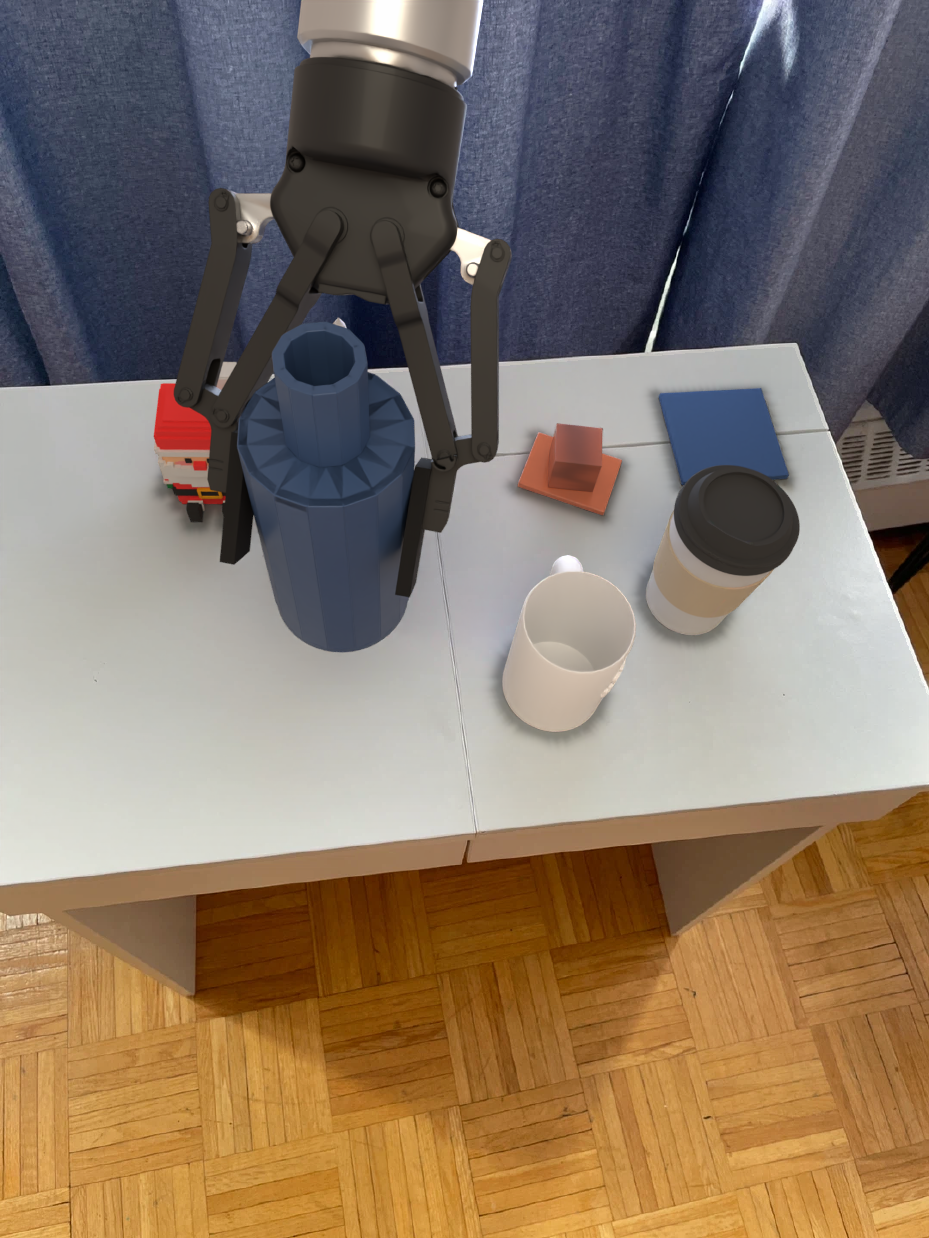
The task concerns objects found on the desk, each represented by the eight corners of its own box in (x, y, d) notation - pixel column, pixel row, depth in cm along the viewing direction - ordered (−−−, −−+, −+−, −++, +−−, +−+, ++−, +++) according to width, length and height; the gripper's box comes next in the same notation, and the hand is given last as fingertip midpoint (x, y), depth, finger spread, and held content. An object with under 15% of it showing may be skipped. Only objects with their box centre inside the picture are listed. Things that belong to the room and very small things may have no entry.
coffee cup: (661, 534, 82) (715, 429, 68) (755, 584, 80) (829, 487, 67) (615, 612, 78) (662, 517, 65) (712, 666, 76) (781, 581, 63)
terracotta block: (593, 455, 84) (602, 427, 80) (592, 492, 82) (602, 466, 79) (549, 450, 84) (556, 422, 80) (547, 487, 82) (554, 461, 79)
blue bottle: (427, 561, 58) (445, 318, 39) (379, 671, 55) (373, 464, 36) (309, 519, 59) (270, 262, 40) (254, 625, 56) (184, 399, 37)
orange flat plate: (621, 463, 85) (622, 459, 84) (603, 516, 82) (604, 512, 82) (537, 435, 85) (538, 431, 85) (517, 486, 83) (517, 483, 82)
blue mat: (759, 391, 89) (761, 387, 89) (787, 479, 85) (789, 475, 85) (658, 397, 88) (660, 393, 88) (681, 485, 84) (683, 482, 84)
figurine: (162, 522, 78) (127, 436, 68) (170, 453, 82) (137, 359, 71) (265, 523, 79) (246, 437, 68) (269, 454, 82) (252, 361, 71)
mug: (601, 600, 78) (635, 525, 68) (605, 736, 73) (643, 678, 62) (503, 593, 78) (522, 517, 67) (500, 729, 73) (520, 670, 62)
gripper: (615, 133, 44) (523, 588, 51) (176, 53, 44) (147, 518, 51) (632, 100, 37) (521, 634, 44) (108, 5, 37) (86, 553, 44)
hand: (320, 572), depth 48 cm, fingers closed on blue bottle, 8 cm apart
